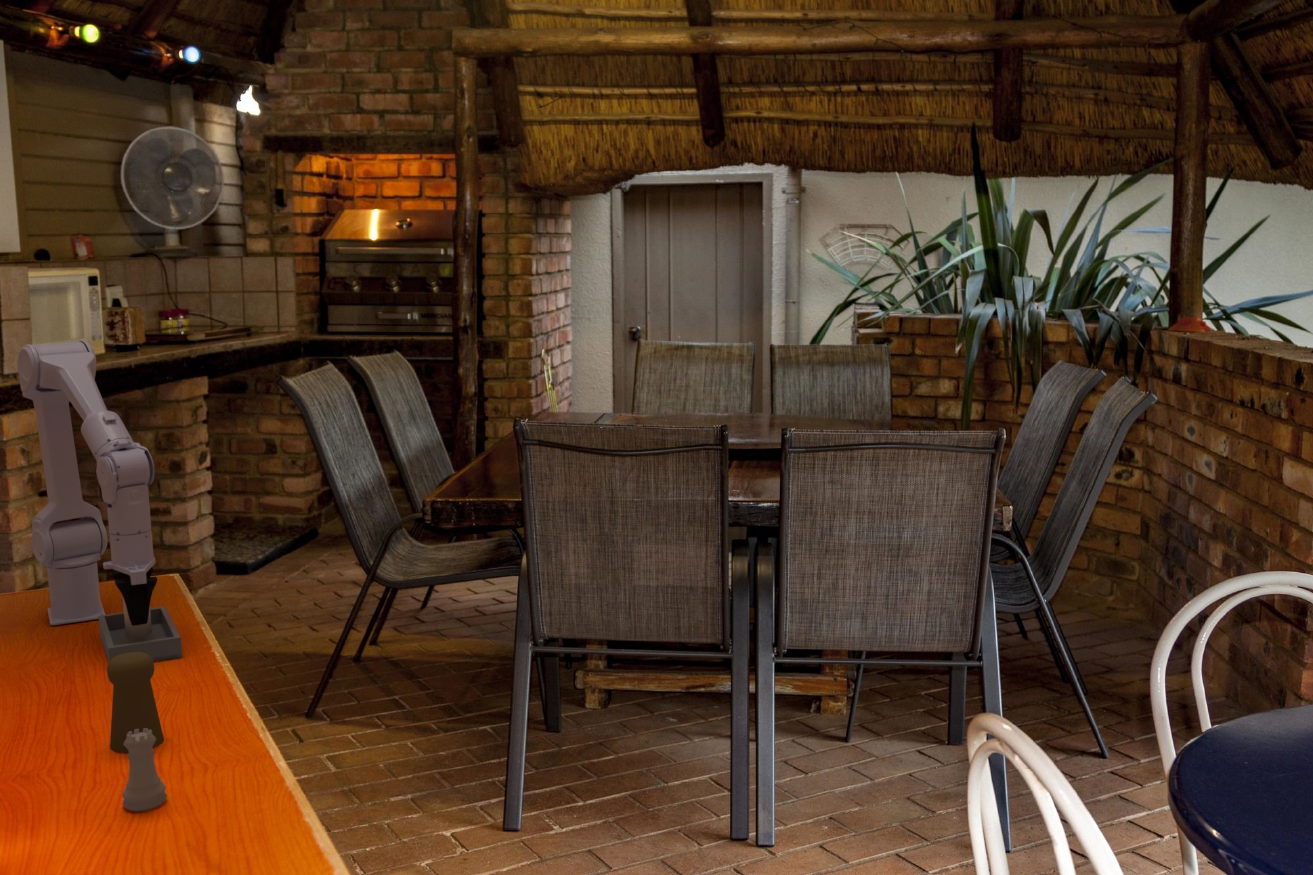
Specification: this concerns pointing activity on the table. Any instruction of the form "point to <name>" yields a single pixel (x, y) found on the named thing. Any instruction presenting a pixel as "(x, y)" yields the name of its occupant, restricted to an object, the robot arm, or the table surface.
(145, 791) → the rook chess piece
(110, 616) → the trough
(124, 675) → the cork
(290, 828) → the table surface
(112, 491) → the robot arm
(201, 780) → the table surface
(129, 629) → the cell
